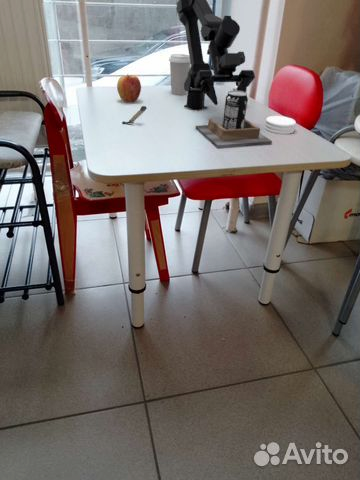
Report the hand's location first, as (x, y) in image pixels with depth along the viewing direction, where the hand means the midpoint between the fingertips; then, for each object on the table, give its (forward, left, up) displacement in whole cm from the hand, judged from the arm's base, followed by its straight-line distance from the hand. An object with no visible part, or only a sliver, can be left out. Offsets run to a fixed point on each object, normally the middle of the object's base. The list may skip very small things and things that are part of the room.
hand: (230, 103), depth 111 cm
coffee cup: (-22, -46, -9) cm, 52 cm away
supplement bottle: (-28, -18, -9) cm, 35 cm away
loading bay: (+2, +4, -9) cm, 10 cm away
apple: (+4, -47, -9) cm, 48 cm away
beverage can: (+2, +4, -8) cm, 9 cm away
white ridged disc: (-17, +9, -9) cm, 21 cm away
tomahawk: (+13, -29, -9) cm, 33 cm away
